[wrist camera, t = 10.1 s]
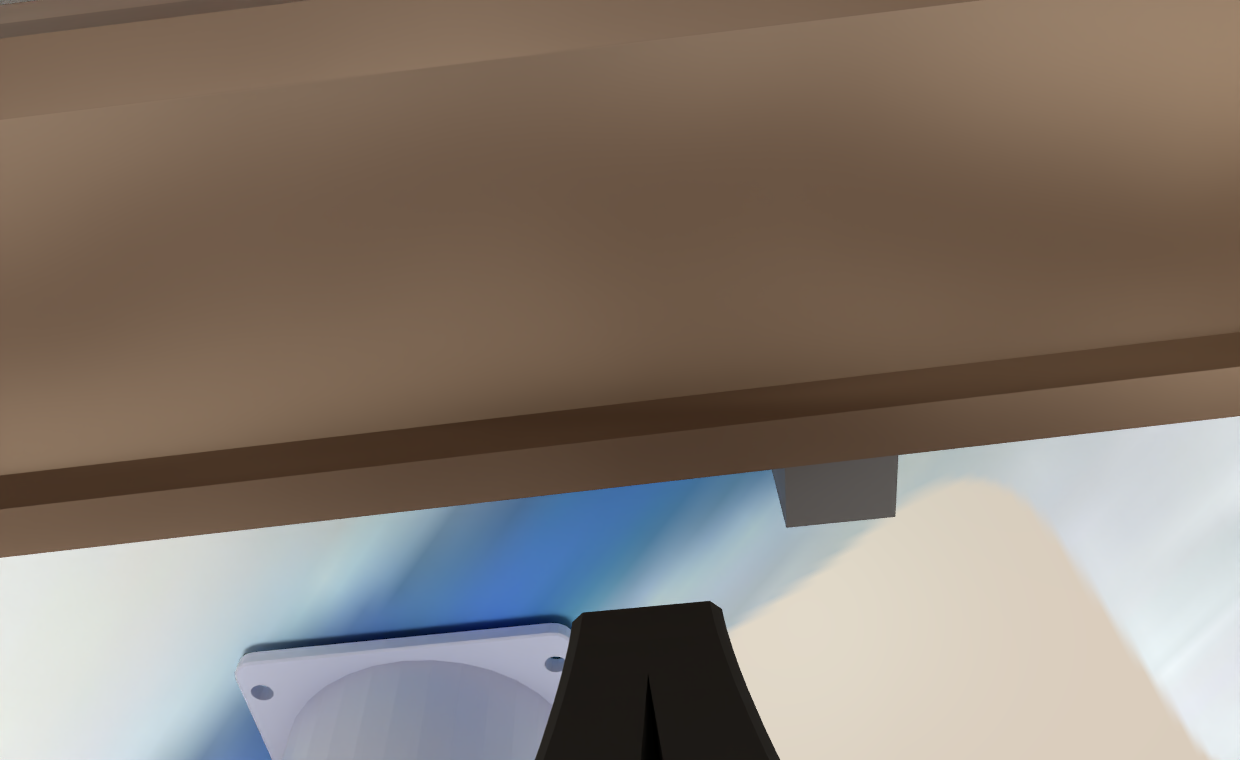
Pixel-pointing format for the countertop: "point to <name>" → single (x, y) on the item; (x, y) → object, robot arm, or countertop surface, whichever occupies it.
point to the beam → (589, 245)
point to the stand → (838, 491)
